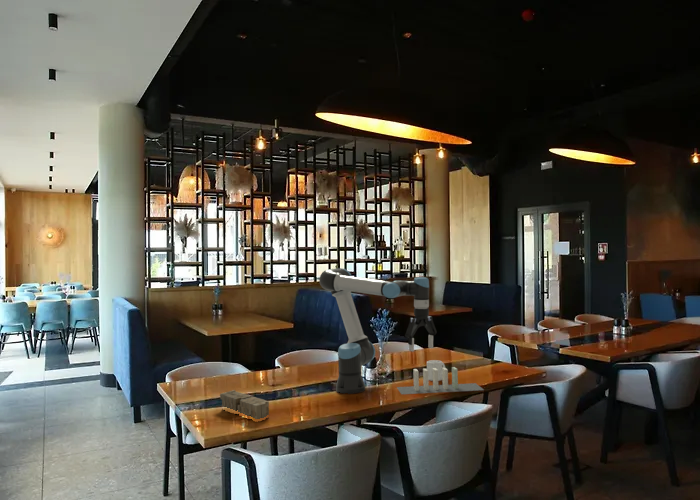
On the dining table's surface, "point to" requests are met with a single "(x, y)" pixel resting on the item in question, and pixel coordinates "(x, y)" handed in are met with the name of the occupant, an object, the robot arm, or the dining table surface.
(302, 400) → the dining table surface
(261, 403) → the grey long block
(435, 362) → the cup
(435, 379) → the domino
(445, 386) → the domino
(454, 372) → the domino
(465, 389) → the slate mat
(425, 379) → the domino
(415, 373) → the domino
